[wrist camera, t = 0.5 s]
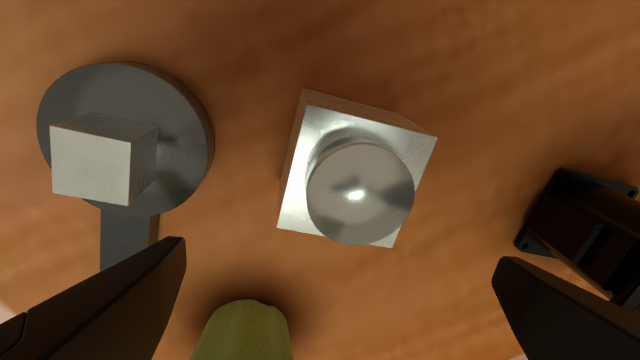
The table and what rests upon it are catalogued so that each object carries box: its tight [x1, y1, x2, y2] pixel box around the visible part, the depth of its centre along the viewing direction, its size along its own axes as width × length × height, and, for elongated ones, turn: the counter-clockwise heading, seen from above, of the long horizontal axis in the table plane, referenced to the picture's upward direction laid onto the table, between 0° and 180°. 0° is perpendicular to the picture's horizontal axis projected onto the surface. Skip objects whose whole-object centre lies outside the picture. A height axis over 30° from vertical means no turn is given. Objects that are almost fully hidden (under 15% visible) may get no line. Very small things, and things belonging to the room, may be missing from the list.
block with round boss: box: [276, 87, 438, 248], centre depth 16 cm, size 6×6×7 cm
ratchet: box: [37, 62, 215, 272], centre depth 17 cm, size 16×8×5 cm, turn 165°
